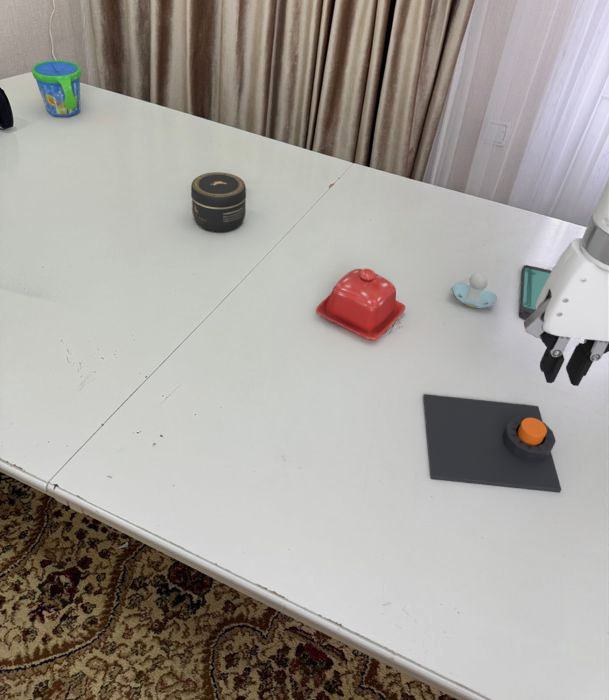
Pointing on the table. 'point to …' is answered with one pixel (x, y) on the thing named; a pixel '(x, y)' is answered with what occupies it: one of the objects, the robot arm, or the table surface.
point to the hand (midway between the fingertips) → (559, 375)
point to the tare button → (532, 431)
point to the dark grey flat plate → (486, 444)
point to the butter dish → (362, 303)
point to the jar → (218, 201)
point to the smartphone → (531, 289)
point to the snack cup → (59, 86)
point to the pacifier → (475, 292)
